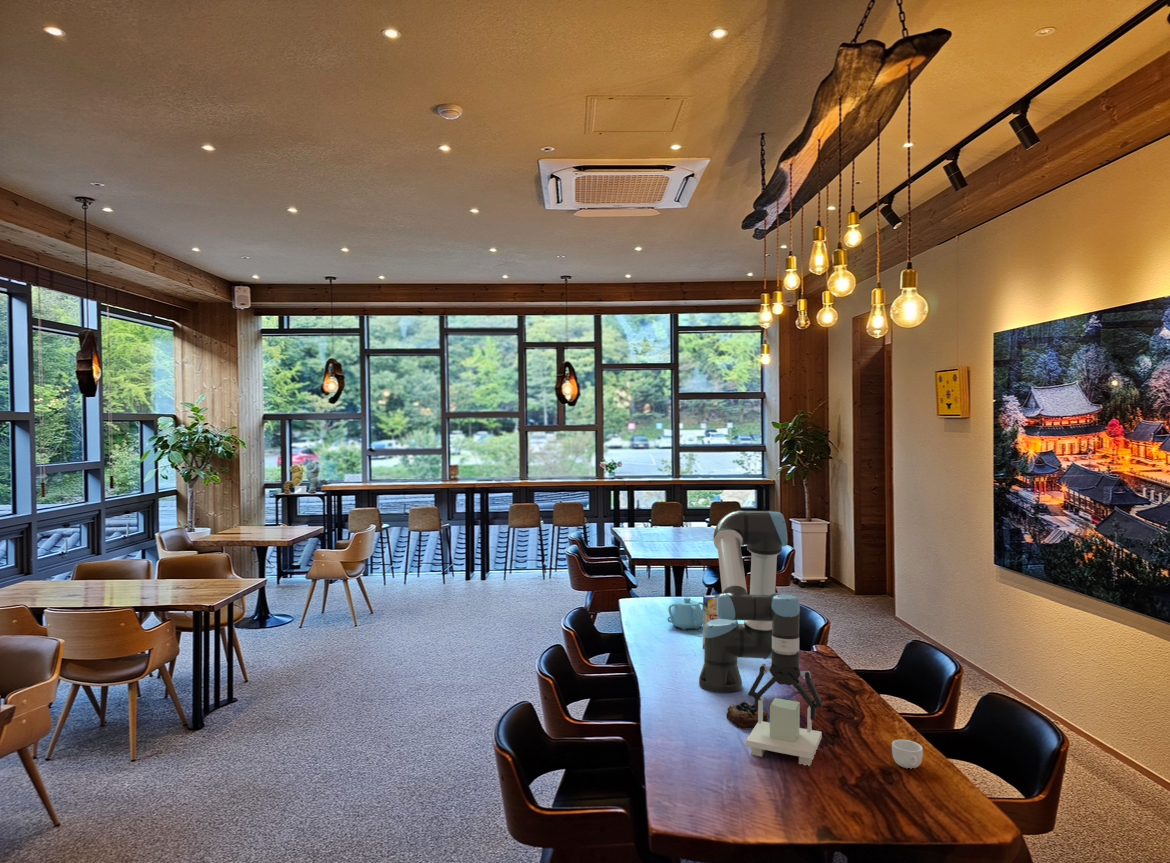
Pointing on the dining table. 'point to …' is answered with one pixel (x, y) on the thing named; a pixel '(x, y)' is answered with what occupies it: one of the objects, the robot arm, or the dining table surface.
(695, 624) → the decorative pot
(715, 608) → the beverage box
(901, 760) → the teacup
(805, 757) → the serving stand
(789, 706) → the sage block
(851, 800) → the dining table surface
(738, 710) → the pastry
